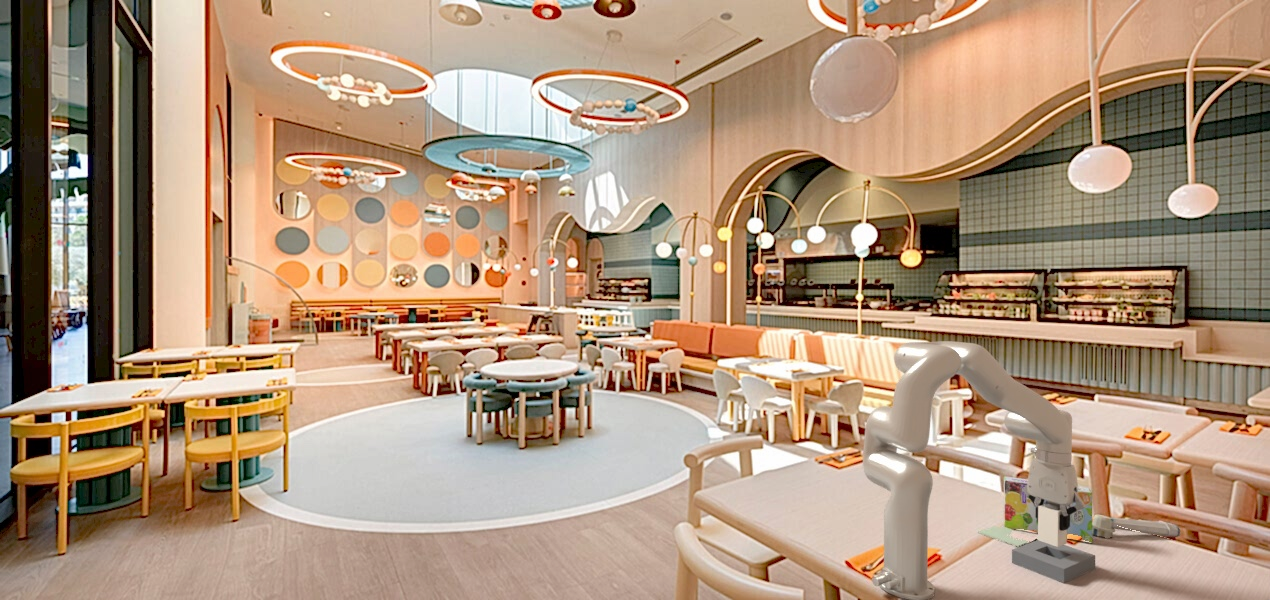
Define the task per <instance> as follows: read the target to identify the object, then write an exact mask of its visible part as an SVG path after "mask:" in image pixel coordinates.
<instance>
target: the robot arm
mask: <svg viewBox="0 0 1270 600" xmlns="http://www.w3.org/2000/svg"><path fill="white" fill-rule="evenodd" d="M893 357H894V358H893V359H894V365H895V366H896V368H897V369H898V370H899V371H900V372H902V373H903V374H902V376H900V379H899V380H898V381H897V383H896V385H895V389H894V393H893V398H892V399H893V400H892V406H887V405H886V406H885V405H883V406H879V407H876V408H875V409H873V410H872V411H871V412H870V414H869V416H868V417H867V420H866V421H865V422H866V423H865V429H864V441H863V453H862V469H863V472H864V475H865V477H866V478H867V479H868V480H869V481H870V482H871V483H873V484H875V485H877V486H878V487H880V488H882V489H885V490H887V491H889V492H890V496H889V499H888V500H887V501H886V504H885V505H884V513H883V522H884V523H883V567H881V571H880V572H879V573H878V574H877V575H876V576H874V577H872V578H871V582H872V585H873V586H875V587H880V588H881V589H882V590H883V591H885V592H887V593H888V594H891V595H893V596H895V597H898V598H901V599H904V598H905V599H904V600H930V599H931V598H933V597H934V596H935V592H936V591H935V590H936V588H935V586H934V584H933V583H932V582H931V581H930V580H928V551H929V550H928V542H929V541H928V540H929V539H928V538H929V537H928V533H929V532H928V530H929V529H928V527H929V526H928V522H929V521H928V520H929V517H928V516H929V515H928V513H929V504H930V498H931V493H932V490H933V485H934V482H933V479H934V478H933V474H932V473H931V471H930V469H929V468H928V467H927V466H926V465H925V464H924V463H922V462H921V461H919V460H918V459H915V458H913V457H910V456H908V455H905V454H902V453H899V452H897V451H898V449H899V450H901V451H905V452H909V453H915V454H917V453H921V452H923V451H924V450H926V449H927V447H928V445H929V444H928V443H929V439H930V431H931V430H930V429H931V419H932V417H931V416H932V405H933V400H934V396H935V394H936V392H937V390H939V388H940V387H941V386H942V385H944V383H945V382H947V381H948V380H949V379H951V378H953V377H954V376H955V375H958V376H961V377H962V378H963V379H964V380H965V381H966V382H968V384H970V386H971V387H972V388H973V389H974V390H975V391H976V392H977V393H978V395H980V397H981V398H982V399H983V400H985V402H986V403H987V402H988V403H989V404H991V405H993V406H995V407H997V408H1000V409H1002V410H1005V411H1006V412H1007V413H1006V414H1005V416H1004V419H1003V422H1004V426H1005V428H1006V429H1007V430H1008V431H1009V432H1010V433H1011V434H1013V435H1015V436H1018V437H1021V438H1024V439H1028V440H1033V441H1035V447H1030V453H1031V454H1033V455H1034V454H1035V456H1034V457H1032V458H1031V461H1030V465H1029V470H1028V476H1027V479H1028V484H1027V485H1026V486H1025V487H1024V488H1023V489H1022V491H1023V492H1024V493H1025V494H1026V495H1027V496H1028V497H1029V499H1030V500H1031V501H1032V503H1033V505H1034V507H1036V518H1037V523H1038V506H1041V505H1044V502H1045V500H1048V501H1051V502H1055V503H1058V504H1060V508H1061V512H1062V514H1061V515H1060V526H1059V529H1060V530H1062V531H1064V530H1067V529H1068V528H1069V527H1070V515H1071V514H1072V513H1074V512H1076V511H1078V510H1081V509H1084V508H1086V505H1085V504H1084V502H1083V501H1082V499H1081V498H1080V497H1079V495H1078V487H1079V486H1078V477H1077V472H1076V468H1075V465H1074V464H1072V461H1073V460H1072V458H1073V456H1072V454H1073V453H1072V451H1073V450H1072V449H1073V447H1072V446H1073V442H1072V441H1073V417H1072V414H1071V413H1070V412H1068V411H1065V410H1061V409H1058V408H1057V407H1056V406H1055V405H1054V404H1053V403H1052V402H1051V401H1050V400H1048V399H1046V397H1044V396H1042V395H1041V394H1039V393H1037V392H1036V391H1034V390H1032V389H1031V388H1029V387H1027V386H1026V385H1024V384H1023V383H1021V382H1019V381H1017V380H1016V379H1014V378H1013V377H1012V376H1011V375H1010V374H1009V373H1008V371H1006V369H1005V368H1004V367H1003V366H1002V365H1001V364H1000V363H999V362H998V361H997V360H996V358H995V357H994V356H993V355H992V354H991V353H990V352H989V351H988V350H987V349H986V348H985V347H984V346H982V345H980V344H977V343H974V342H964V341H963V342H961V341H950V340H947V341H946V340H945V341H944V340H942V341H917V342H916V341H914V342H913V341H912V342H910V341H909V342H905V343H903V344H902V345H900V346H898V347H897V349H896V351H895V352H894V356H893ZM1071 503H1076V505H1075V506H1073V507H1071ZM933 595H934V596H933ZM932 596H933V597H932Z"/></svg>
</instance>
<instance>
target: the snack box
mask: <svg viewBox="0 0 1270 600" xmlns="http://www.w3.org/2000/svg"><path fill="white" fill-rule="evenodd" d="M1027 484H1028V478H1020V477H1012V476H1003V523H1004V527H1007V528H1009V529H1012V530H1014V529H1024V530H1034V531H1038V523H1037V518H1036V507H1034V505H1033V503H1032V501H1031V500H1030V499H1029V497H1028V496H1027V495H1026V494H1025V493H1024V492H1023V491H1022V489H1023V488H1024V487H1025V486H1026V485H1027ZM1078 495H1079V497H1080V498H1081V499H1082V501H1083V502H1084V504H1085V505H1086V508H1084V509H1081V510H1078V511H1076V512H1074V513H1072V514H1071V515H1070V527H1069V528H1068V529H1067V534H1073V535H1078V536H1081V537H1082V539H1083V540H1085V541H1089V542H1092V543H1093V534H1092V522H1093V492H1092V491H1091V489H1090V488H1089V487H1084V486H1078ZM1045 501H1048V500H1045ZM1044 504H1045V502H1044ZM1075 505H1076V503H1071V507H1073V506H1075Z"/></svg>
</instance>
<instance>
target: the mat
mask: <svg viewBox="0 0 1270 600" xmlns="http://www.w3.org/2000/svg"><path fill="white" fill-rule="evenodd" d="M996 526H997V525H994V526H991V527H988V528H985V529H982V530H978V531H977V533H978V534H980V535H983V536H986V537H988V538H991V539H994V540H996V539H998V540H997V541H999V540H1001V541H1000V542H1002V541H1004V542H1007V543H1010V544H1012V545H1015V546H1020V545H1023V544H1025V543H1027V542H1028V541H1026V540H1023V539H1022V541H1021V540H1020V539H1019V540H1018V538H1016V539H1017V540H1016V539H1015V538H1014V540H1013V537H1012V536H1011V538H1010V536H1009V535H1010V534H1011V532H1012V531H1013V530H1014V529H1009V528H1007V527H1005V525H1004V526H1003V525H1001V527H996ZM1007 534H1008V536H1007ZM1004 542H1003V543H1004ZM1029 542H1030V541H1029ZM1007 543H1006V544H1007ZM1010 544H1009V545H1010ZM1012 545H1011V546H1012ZM1025 545H1026V544H1025ZM1015 546H1014V547H1015ZM1020 547H1021V546H1020Z"/></svg>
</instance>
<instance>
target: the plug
mask: <svg viewBox="0 0 1270 600" xmlns="http://www.w3.org/2000/svg"><path fill="white" fill-rule="evenodd" d="M1061 514H1062V512H1061V508H1060V504H1058V503H1055V502H1051V501H1045V504H1044V505H1041V506H1038V534H1037V538H1038V540H1039V541H1042V542H1045V543H1048V544H1050V545H1053V546H1056V547H1059V546H1062V545H1067V543H1068V541H1067V540H1068V539H1067V530H1064V531H1062V530H1060V529H1059V526H1060V515H1061Z"/></svg>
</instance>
